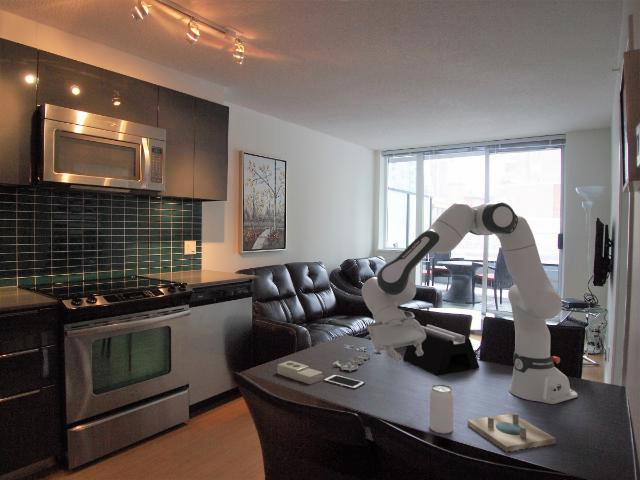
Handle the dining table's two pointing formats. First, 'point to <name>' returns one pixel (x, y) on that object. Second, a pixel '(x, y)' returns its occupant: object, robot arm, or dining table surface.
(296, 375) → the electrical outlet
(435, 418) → the can
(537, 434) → the pin plate
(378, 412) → the dining table surface
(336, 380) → the cell phone
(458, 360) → the device stand
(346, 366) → the drone parts
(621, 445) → the dining table surface
